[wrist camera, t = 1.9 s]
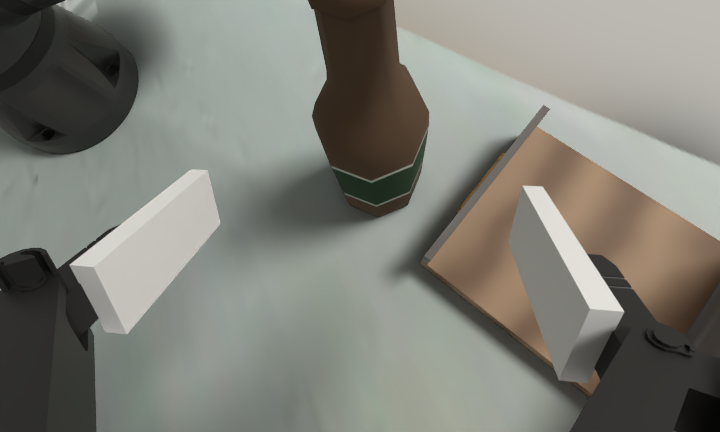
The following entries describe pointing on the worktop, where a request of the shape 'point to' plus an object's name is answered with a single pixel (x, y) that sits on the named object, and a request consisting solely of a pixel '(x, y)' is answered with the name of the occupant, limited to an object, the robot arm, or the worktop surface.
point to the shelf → (595, 234)
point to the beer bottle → (368, 105)
